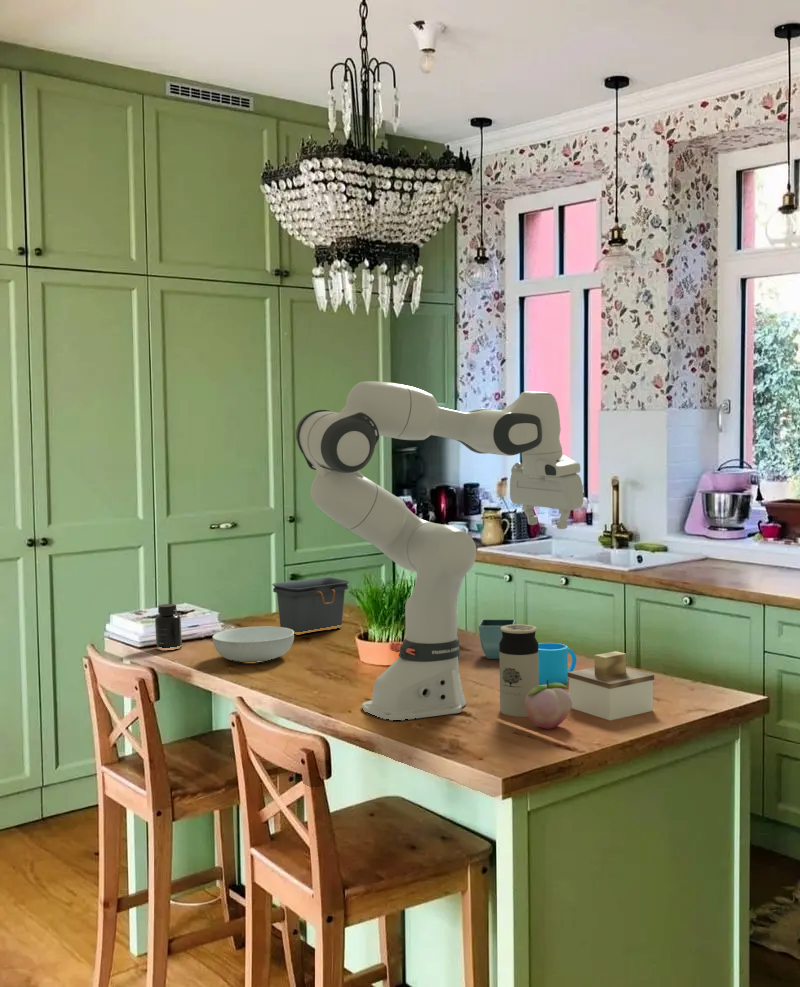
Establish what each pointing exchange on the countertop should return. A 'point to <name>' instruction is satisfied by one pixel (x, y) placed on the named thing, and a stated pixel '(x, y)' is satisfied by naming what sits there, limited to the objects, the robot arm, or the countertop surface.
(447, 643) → the robot arm
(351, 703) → the countertop surface
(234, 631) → the serving bowl
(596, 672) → the lid
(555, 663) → the mug
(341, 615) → the storage bin
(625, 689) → the box
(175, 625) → the supplement bottle
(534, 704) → the decorative fruit
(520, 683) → the travel mug
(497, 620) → the flower pot
